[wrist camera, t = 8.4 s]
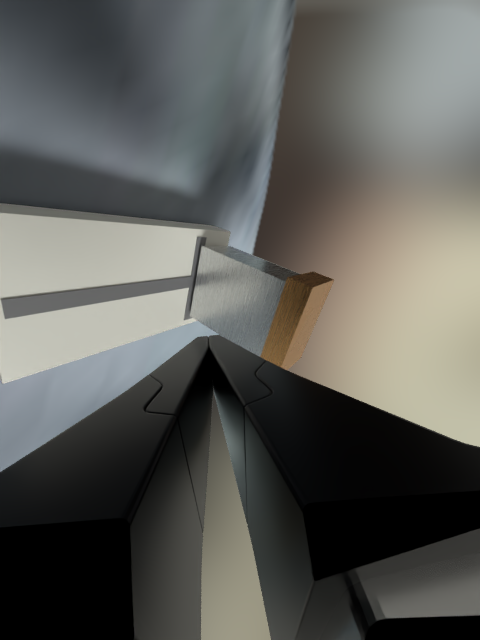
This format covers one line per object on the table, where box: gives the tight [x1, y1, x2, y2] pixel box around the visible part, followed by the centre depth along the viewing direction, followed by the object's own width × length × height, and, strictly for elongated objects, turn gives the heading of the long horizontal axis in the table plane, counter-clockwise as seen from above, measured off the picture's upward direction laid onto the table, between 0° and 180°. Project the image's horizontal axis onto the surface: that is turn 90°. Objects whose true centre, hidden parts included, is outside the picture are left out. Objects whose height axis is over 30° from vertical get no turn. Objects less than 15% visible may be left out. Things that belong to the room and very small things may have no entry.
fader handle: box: [190, 246, 334, 370], centre depth 14 cm, size 3×5×7 cm, turn 157°
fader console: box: [0, 203, 230, 384], centre depth 12 cm, size 12×6×2 cm, turn 67°
